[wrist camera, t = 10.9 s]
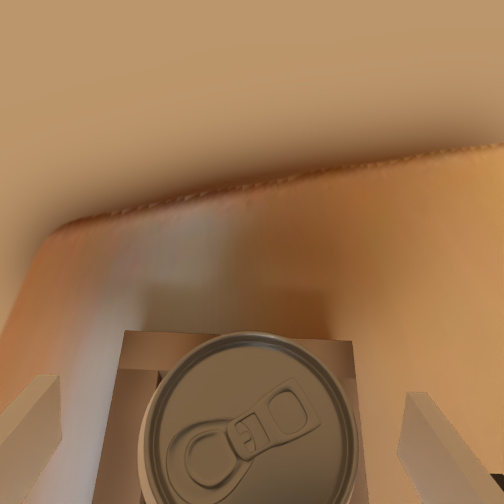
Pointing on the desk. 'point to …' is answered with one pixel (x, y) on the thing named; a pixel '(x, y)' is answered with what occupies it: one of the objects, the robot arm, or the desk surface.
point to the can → (248, 427)
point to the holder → (145, 384)
